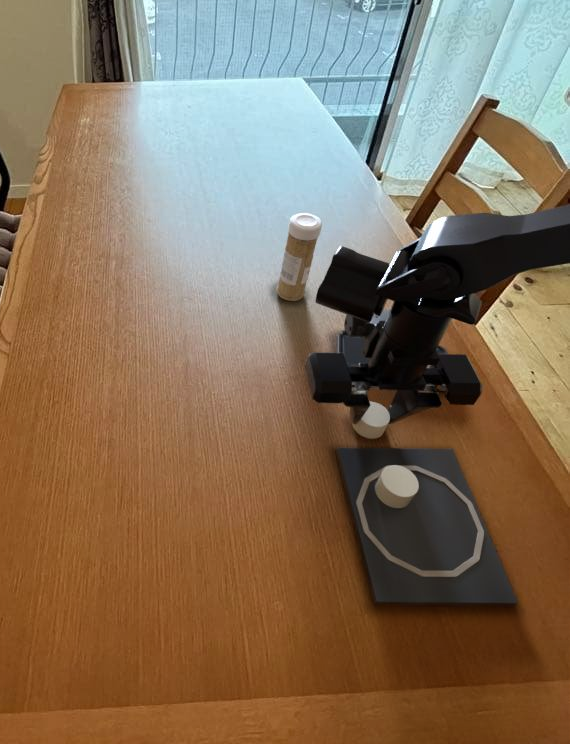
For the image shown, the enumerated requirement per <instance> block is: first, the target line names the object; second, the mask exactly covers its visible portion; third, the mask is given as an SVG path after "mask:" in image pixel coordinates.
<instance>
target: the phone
mask: <svg viewBox="0 0 570 744" xmlns="http://www.w3.org/2000/svg"><path fill="white" fill-rule="evenodd" d="M364 344H365V343H364V342H363V340H362V339H361V338H360V337H350V336H349V335H348V333H347V332H346V331H345V329H343V330H340V331H339V332H338V336H337V339H336V353H343V354H344V357H345V360H346V363H347V366H358V365H359V364H360V363H369V361H370V360H369V358H364V355H363V352H362V349H363V347H364ZM436 351H437V353H438V354H449V352H448V350H447V349H446V348H445V347H444V346H442V345H440V344H439V345H438V347H437V349H436ZM446 391H448V390H447V388H446V385H445V384H442V387H441V389H439V392H446Z"/></svg>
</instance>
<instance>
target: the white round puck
mask: <svg viewBox="0 0 570 744" xmlns="http://www.w3.org/2000/svg"><path fill="white" fill-rule="evenodd" d="M418 489H419V483H418V480H417V478H416V476H415V475H414V474H413V473H412V472H411V471H410V470H408V469H407V468H405V467H402V466H398V465H392V466H388V467H386V468H385V469H384V470H383V471H382V473H381V475H380V477H379V479H378V480H377V482H376V484H375V492H376V494H377V496H378V498H379V499H380V500H381V501H382V502H383V503H384V504H386V505H388V506H390V507H393V508H403V507H406V506H407V505H408V504H409V503H410V502H411V500H412V499H413V497H414V496H415V494H416V493H417V491H418Z"/></svg>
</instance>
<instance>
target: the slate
mask: <svg viewBox="0 0 570 744" xmlns="http://www.w3.org/2000/svg"><path fill="white" fill-rule="evenodd" d="M335 455H336V458H337V462H338V466H339V467H338V468H339V471H340V475H341V478H342V482H343V487H344V490H345V494H346V499H347V502H348V506H349V510H350V515H351V518H352V522H353V527H354V530H355V534H356V537H357V544H358V547H359V551H360V555H361V559H362V562H363V566H364V571H365V574H366V575H365V576H366V579H367V583H368V586H369V591H370V595H371V599H372V602H373V606H403V607H405V606H407V607H408V606H409V607H411V606H413V607H502V608H503V607H508V608H509V607H515V606H517V605H518V604H519V602H518V600H517V599H518V598H517V597H516V594H515V592H514V590H513V587H512V585H511V583H510V580H509V578H508V575H507V573H506V571H505V569H504V566H503V564H502V561H501V558H500V557H499V554H498V552H497V549H496V548H495V545H494V542H493V541H492V538H491V535H490V533H489V531H488V529H487V527H486V524H485V521H484V519H483V517H482V514H481V512H480V510H479V508H478V505H477V502H476V501H475V498H474V496H473V493H472V491H471V489H470V487H469V484H468V482H467V479H466V477H465V475H464V472H463V470H462V468H461V465H460V463H459V461H458V460H459V459H458V458H457V455H456V453H455V451H454V449H453V448H408V447H407V448H405V447H404V448H398V447H397V448H396V447H395V448H393V447H390V448H389V447H337V449H336V450H335ZM392 465H398V466H402V467H405V468H407V469H408V470H410V471H411V472H412V473H413V474H414V475H415V476H416V478H417V480H418V483H419V489H418V491H417V493H416V494H415V496H414V497H413V499H412V500H411V502H410V503H409V504H408V505H407V506H406V507H403V508H393V507H390V506H388V505H386V504H384V503H383V502H382V501H381V500H380V499H379V498H378V496H377V494H376V492H375V484H376V482H377V480H378V479H379V477H380V475H381V473H382V471H383V470H384V469H385V468H386V467H388V466H392Z"/></svg>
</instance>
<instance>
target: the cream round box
mask: <svg viewBox="0 0 570 744" xmlns="http://www.w3.org/2000/svg"><path fill="white" fill-rule="evenodd" d="M369 402H370V407H369V408H368V410H367V411H366V413H365V414H364V415H363V417H362V418H361V420H360V421H359V422H358V423H357V424H353V423H352V422H351V424H352V428H353V430H354V431H355V433H357V434H358V435H360V436H361V437H362V438H366V439H369V440H371V439H372V440H374V439H378V438H380V437H382V436H383V435H384V433H385V431H386V430H387V427H388V425H389V424H388V423H389V421H390V415H389V412H388V409H387V408H386V407H385V406H384V405H382V404H381V403H378V402H376V401H369Z"/></svg>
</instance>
